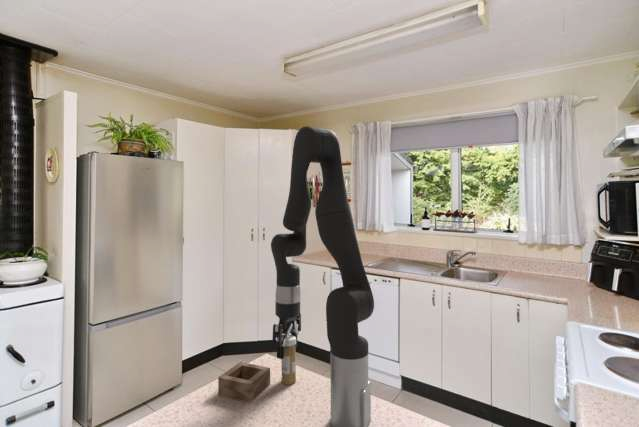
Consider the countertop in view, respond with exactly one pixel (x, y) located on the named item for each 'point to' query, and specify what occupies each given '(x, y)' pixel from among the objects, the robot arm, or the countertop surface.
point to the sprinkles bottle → (289, 361)
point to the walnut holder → (244, 382)
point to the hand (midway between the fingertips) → (287, 352)
